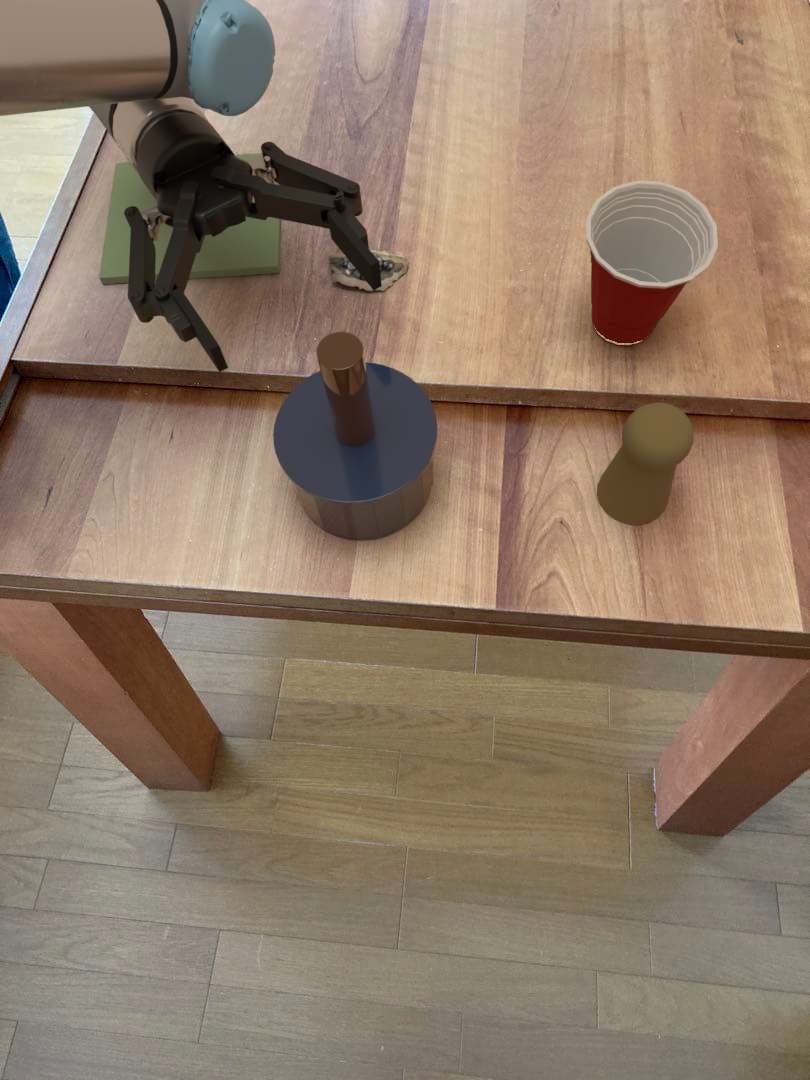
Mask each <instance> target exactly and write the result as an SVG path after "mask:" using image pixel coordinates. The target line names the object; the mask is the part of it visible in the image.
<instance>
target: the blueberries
mask: <svg viewBox="0 0 810 1080" xmlns="http://www.w3.org/2000/svg"><path fill="white" fill-rule="evenodd" d="M369 243H370V242H369V241H368V245H369V248H368V249H369V250H370V251H371V252H372V253H373V255H374V256H375V257H376V258H377V259H378V261H379V265H380V274H381V284H382V286H381V287H379V288H377V289H376V290H375V291H381V292H385V291H386V290H387V289H388V288H389V287H392V286H393V284H394V281H398V280H399V278H401V277H402V275H405V274H406V273H407V272H408V269H409V262H408V261H407V258H406V256H404V255H403V254H402V253H401V252H399V251H395V250H393V251H391V250H388V249H385V250H378V249H377V248H378V247H379V245H375V246H373V245H370V244H369ZM328 260H329V261H330V263H328V266H329V268H330V269H332V270H333V273H332V274H331V275H330V276H331V277H330V280H333V281H332V282H333V283H337V282H339V283H340V284H341V285H344V286H346V287H353V288H354V287H357V288H359V290H362V289H364V290H365V291H367V292H373V291H374V290H373V289H372V288H371V287H370V286H369V284H368V283H367V282H366V281H365V279H364V278H363V277H362V276H361V274H360V273H359V272H358V271H357V270H356V268H355V267H354V266H353V265H352V263H351V262H350V261H349V260H348V259H347V257H346V256H345V255H344V254H343V252H342V251H341V250H340V249H339V247H337V249H336V250H335V251H334V253H331V254H329V255H328Z"/></svg>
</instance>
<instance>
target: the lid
mask: <svg viewBox="0 0 810 1080" xmlns="http://www.w3.org/2000/svg"><path fill="white" fill-rule="evenodd" d="M316 358H317V362H318V366H319V370H318V371H316V372H314V373H312V374H311V375H309V376H307V377H306V378H305V379H303V380H302V381H301V382H300V383H298V384H297V385H296V386H295V387H294V388H293V389H292V390H291V391H290V392H289V394H288V395H287V396H286V397H285V399H284V400H283V402H282V404H281V405H280V407H279V410H278V412H277V414H276V416H275V421H274V425H273V431H272V432H273V434H272V438H273V447H274V452H275V453H274V454H275V455H276V458H277V461H278V463H279V466H280V467H281V469H282V471H283V473H284V475H285V476H286V477H287V478H288V480H289V481H290V482H291V483H292V482H293V483H294V484H295V485H296V486H297V487H298V488H299V489H301V490H302V491H303V492H305V493H306V494H308V495H310V496H312V497H314V498H316V499H318V500H321V501H324V502H327V503H331V504H336V505H344V506H359V505H368V504H372V503H376V502H380V501H383V500H385V499H388V498H390V497H392V496H394V495H396V494H398V493H400V492H401V491H403V490H404V489H406V488H407V487H409V486H410V485H411V484H412V483H413V482H414V481H416V480H417V478H418V477H419V476H420V475H421V474H422V473H423V471H424V470H425V469H426V467H427V466H428V464H429V462H430V460H431V458H432V459H433V456H434V453H435V450H436V447H437V441H438V440H437V439H438V421H437V415H436V411H435V408H434V405H433V403H432V402H431V399H430V398H429V395H428V394H427V393H426V391H425V390H424V389H423V388H422V387H421V385H419V383H417V382H416V381H415V380H414V379H412V377H410V376H409V375H407V374H405V373H403V372H402V371H400V370H397V369H395V368H394V367H393V368H392V367H391V366H387V365H384V364H380V363H376V362H368V361H366V357H365V350H364V345H363V343H362V341H361V340H360V338H359V337H358V336H357V335H356V334H354V333H352V332H347V331H335V332H332V333H329V334H327V335H326V336H325V337H323V338H322V339H321V340H320V341H319V343H318V344H317V347H316Z"/></svg>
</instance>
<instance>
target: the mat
mask: <svg viewBox="0 0 810 1080" xmlns="http://www.w3.org/2000/svg"><path fill="white" fill-rule="evenodd" d="M234 155H235V156H236V157H237V158H239V159H241V160H244V161H246V162H250V161H252V160H253V159H255V158H257V157H258V156H260V155H262V152H257V153H245V154H244V153H241V154H234ZM262 178H264V177H262ZM264 179H265V180H266V182H268V183H269V180H268V179H266V178H264ZM274 184H277V185H279V184H278V183H277V182H276V183H274ZM110 194H111V195H110V200H109V201H110V202H109V207H108V208H109V210H108V214H107V216H108V217H107V221H106V228H105V235H104V242H103V249H102V256H101V261H100V262H101V263H100V269H99V276H98V278H99V280H100V282H101V284H102V285H115V284H118V285H119V284H128V280H129V258H130V235H131V228H130V226H129V224H128V221H127V219H126V217H125V215H124V211H125V209H126V208H128V207H131V206H135V207H137V208H138V209H139V211H140V212H143V211H146V210H148V209H151V208H153V207H156V206H157V201H156V200H155V198H154V197H153V195H152V194H151V192H150V191H149V190H148V188H147V187H146V185H145V184H144V183H143V181H142V180H141V178H140V176H139V175H138V174H137V173H136V171H135V170H134V168H133V167H132V165H131V164H130V162H129V161H126V162H116V163H115V166H114V173H113V180H112V187H111V193H110ZM252 202H254V203H255V200H254V196H253V200H252ZM245 218H246V221H244V222H242V223H240V224H238V225H235V226H231V227H228V228H227V229H225V230H224V231H223V232H222V233H220V234H218V235H216V236H214V237H212V235H205V237H204V240H203V243H202V247H201V250H200V252H199V253H196V256H195V259H194V263H193V266H192V269H191V272H190V276H189V279H188V280H192V279H194V280H195V279H207V278H209V279H210V278H221V277H222V278H223V277H239V276H240V277H241V276H253V275H267V274H268V275H269V274H279V273H281V247H282V245H281V244H282V242H281V241H282V219H277V218H272V217H268V218H267V219H266V220H260V219H255V218H250V217H245ZM172 231H173V227H170V226H168V225H166V224H165V223H163V224H161V225H160V227H159V233H158V235H157V236H158V240H157V241H153V242H154V245H155V249H156V263H155V282H156V280H157V277H158V274H159V271H160V268H161V265H162V262H163V259H164V256H165V253H166V250H167V247H168V244H169V241H170V237H171V234H172Z"/></svg>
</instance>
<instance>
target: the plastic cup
mask: <svg viewBox="0 0 810 1080" xmlns="http://www.w3.org/2000/svg"><path fill="white" fill-rule="evenodd" d="M713 218H714V217H713V216H712V214H711V213H710V211H709V209H708V207H707V206H706V204H704V203H702V201H700V200H699V199H698V198H697V197H695V196H694V195H693V194H691V193H690V192H689V191H688V190H686V189H683V188H680V187H678V186H675V185H672V184H670V183H667V182H664V181H655V180H634V181H631V182H626V183H623V184H619V185H616V186H613V187H611V188H610V189H609V190H608V191H606V192H605V193H603V194H602V195H601V196H599V197H598V198H597V199H596V200H595V201H594V204H593V205H592V206H591V209H590V211H589V212H588V214H587V216H586V229H585V230H586V235H585V236H586V244H587V246H588V248H589V254H590V264H591V270H590V271H591V272H590V273H591V275H590V304H591V322H592V325H593V324H594V326H595V328H596V330H597V331H598V332H599V333H600V334H601V335H603V336H604V337H605V338H606V339H609V340H612V341H615V342H617V343H634V342H637V341H641V340H643V341H644V340H646V339H647V338H648V337H650V335H651V334H652V333H654V330H656V328H657V326H658V324H659V322H661V319H663V318H664V317H665V315H666V314H667V312H669V309H670V308H671V307H672V305H673V304H674V302H675V300H676V299H677V298H678V297H679V295H680V293H681V292H682V290H683V289H684V287H685V285H687V284H689V282H691V280H693V279H695V278H696V277H697V276H699V274H701V273H702V272H703V271H704V270H706V269H707V268H708V267H709V266H710V264H711V262H712V260H713V258H714V256H715V254H716V252H717V250H718V248H719V240H718V239H719V238H718V225H717V223H716V221H715V220H714V219H713ZM596 330H595V331H596ZM647 336H648V337H647ZM646 337H647V338H646ZM645 338H646V339H645Z"/></svg>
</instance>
